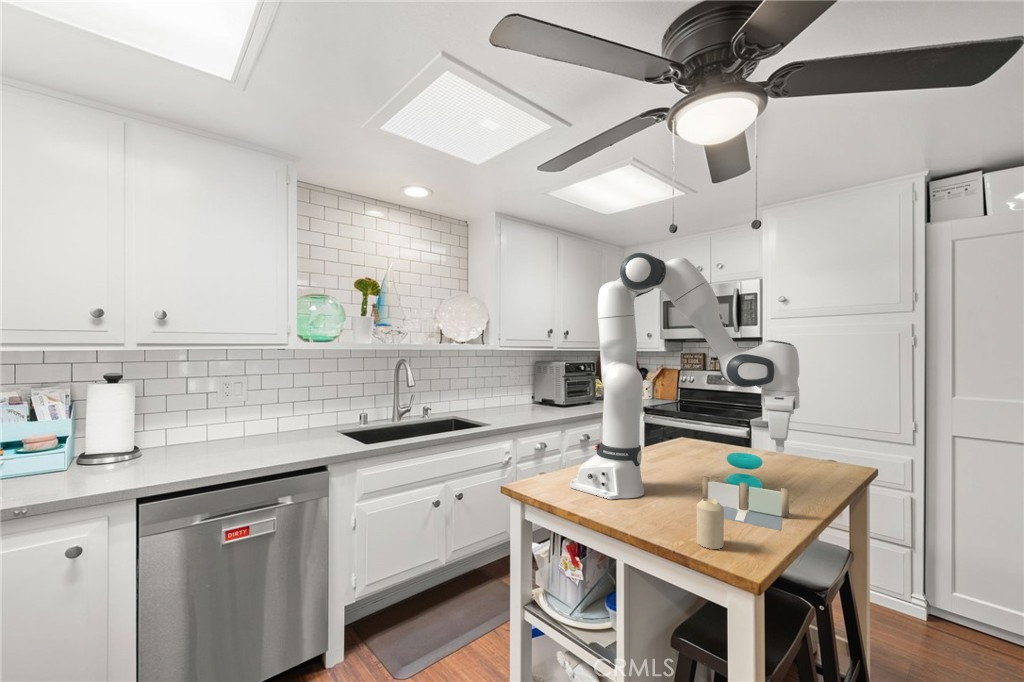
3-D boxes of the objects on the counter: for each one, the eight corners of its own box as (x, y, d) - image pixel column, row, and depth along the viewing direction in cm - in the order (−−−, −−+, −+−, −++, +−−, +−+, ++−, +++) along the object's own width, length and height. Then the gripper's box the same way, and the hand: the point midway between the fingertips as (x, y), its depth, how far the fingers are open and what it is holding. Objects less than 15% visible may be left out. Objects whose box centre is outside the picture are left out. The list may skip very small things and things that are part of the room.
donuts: (734, 459, 134) (721, 451, 144) (733, 492, 134) (721, 481, 144) (768, 460, 133) (753, 452, 143) (768, 493, 133) (753, 483, 143)
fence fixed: (701, 502, 124) (701, 477, 124) (702, 500, 126) (703, 475, 126) (746, 511, 118) (747, 485, 118) (747, 509, 119) (747, 483, 119)
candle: (715, 552, 95) (715, 506, 95) (691, 543, 99) (692, 498, 100) (728, 545, 98) (728, 501, 98) (705, 536, 103) (705, 494, 103)
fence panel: (748, 510, 118) (748, 484, 118) (749, 508, 119) (749, 482, 119) (788, 518, 113) (788, 490, 113) (788, 515, 114) (789, 488, 114)
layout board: (696, 514, 116) (696, 512, 116) (708, 495, 131) (708, 494, 131) (780, 531, 106) (780, 530, 106) (783, 509, 120) (783, 508, 120)
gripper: (769, 395, 130) (769, 442, 130) (763, 403, 113) (763, 457, 113) (794, 397, 126) (794, 445, 126) (793, 405, 109) (793, 461, 109)
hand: (780, 451), depth 119 cm, fingers closed
